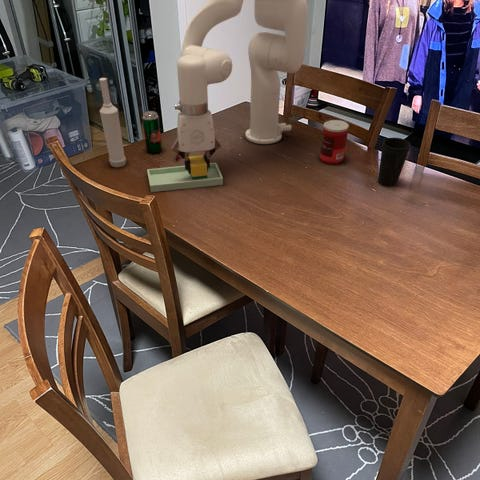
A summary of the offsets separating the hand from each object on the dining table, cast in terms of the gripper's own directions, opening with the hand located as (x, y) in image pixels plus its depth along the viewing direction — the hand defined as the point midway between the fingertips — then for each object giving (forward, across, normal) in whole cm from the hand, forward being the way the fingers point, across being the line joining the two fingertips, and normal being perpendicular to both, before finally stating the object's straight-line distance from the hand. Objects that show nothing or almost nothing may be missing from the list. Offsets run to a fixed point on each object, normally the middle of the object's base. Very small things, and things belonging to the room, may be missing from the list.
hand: (197, 170), depth 142 cm
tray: (+3, -4, 0) cm, 5 cm away
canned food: (+3, +44, +4) cm, 44 cm away
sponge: (+1, 0, 0) cm, 1 cm away
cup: (+3, +55, -14) cm, 57 cm away
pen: (+3, 0, +22) cm, 22 cm away
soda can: (+3, -11, +22) cm, 25 cm away
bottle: (+3, -23, +15) cm, 28 cm away
